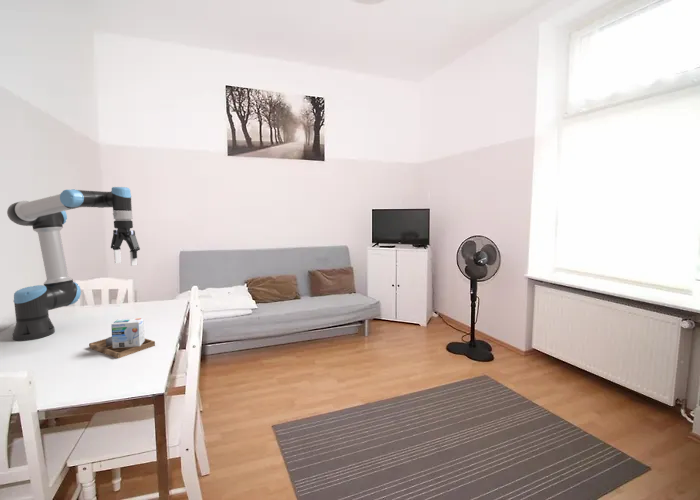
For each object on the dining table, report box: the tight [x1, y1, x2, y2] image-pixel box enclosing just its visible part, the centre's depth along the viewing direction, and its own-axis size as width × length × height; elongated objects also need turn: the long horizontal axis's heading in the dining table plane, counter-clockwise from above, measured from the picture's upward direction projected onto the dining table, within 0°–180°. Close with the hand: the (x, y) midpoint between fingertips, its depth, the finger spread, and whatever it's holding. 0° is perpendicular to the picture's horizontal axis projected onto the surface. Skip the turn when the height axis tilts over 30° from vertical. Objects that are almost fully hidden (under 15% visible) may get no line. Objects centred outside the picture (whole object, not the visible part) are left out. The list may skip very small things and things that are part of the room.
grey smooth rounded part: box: [105, 336, 112, 347], centre depth 156 cm, size 7×7×3 cm
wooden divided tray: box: [88, 338, 156, 359], centre depth 153 cm, size 22×16×2 cm
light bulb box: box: [110, 317, 146, 348], centre depth 150 cm, size 11×7×11 cm, turn 106°
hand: (126, 264), depth 167 cm, fingers open, 13 cm apart
